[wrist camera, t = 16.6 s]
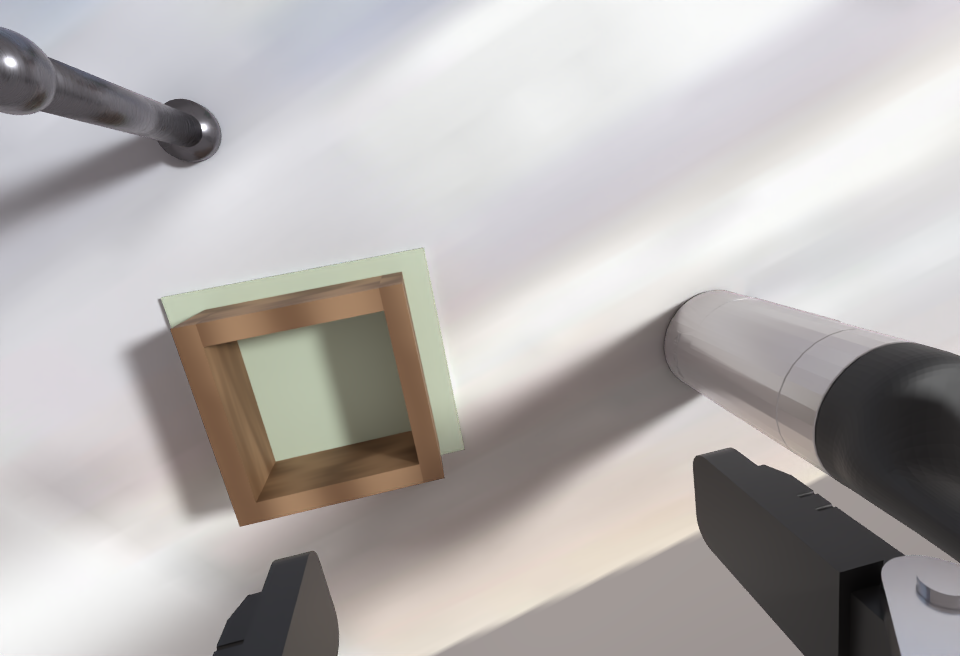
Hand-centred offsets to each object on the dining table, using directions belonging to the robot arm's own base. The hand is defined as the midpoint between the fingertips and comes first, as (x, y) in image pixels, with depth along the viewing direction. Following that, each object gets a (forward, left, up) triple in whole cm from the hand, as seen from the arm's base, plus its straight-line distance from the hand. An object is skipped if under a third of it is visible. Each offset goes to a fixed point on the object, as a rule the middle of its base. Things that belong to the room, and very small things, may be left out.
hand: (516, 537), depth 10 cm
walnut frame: (+10, +6, -32) cm, 33 cm away
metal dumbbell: (+14, -14, -32) cm, 38 cm away
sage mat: (+10, +6, -32) cm, 34 cm away
